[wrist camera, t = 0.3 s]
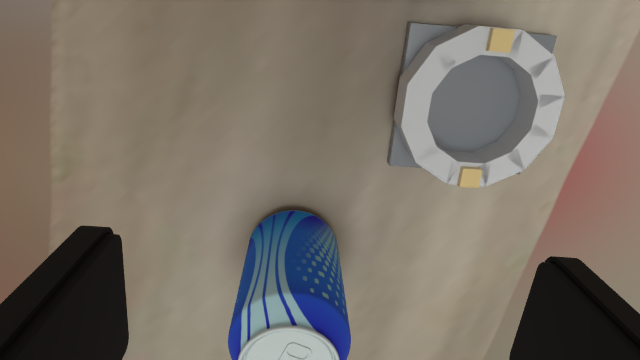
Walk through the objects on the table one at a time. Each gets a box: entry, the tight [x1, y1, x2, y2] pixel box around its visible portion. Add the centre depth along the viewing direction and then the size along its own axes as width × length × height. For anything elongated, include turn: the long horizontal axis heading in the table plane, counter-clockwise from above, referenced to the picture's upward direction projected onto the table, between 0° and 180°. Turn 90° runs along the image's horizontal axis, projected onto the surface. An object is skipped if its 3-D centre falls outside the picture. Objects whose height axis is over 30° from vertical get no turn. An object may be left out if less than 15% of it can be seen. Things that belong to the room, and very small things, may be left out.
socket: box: [388, 22, 565, 188], centre depth 36 cm, size 12×12×5 cm
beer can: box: [228, 210, 351, 360], centre depth 35 cm, size 8×8×16 cm
